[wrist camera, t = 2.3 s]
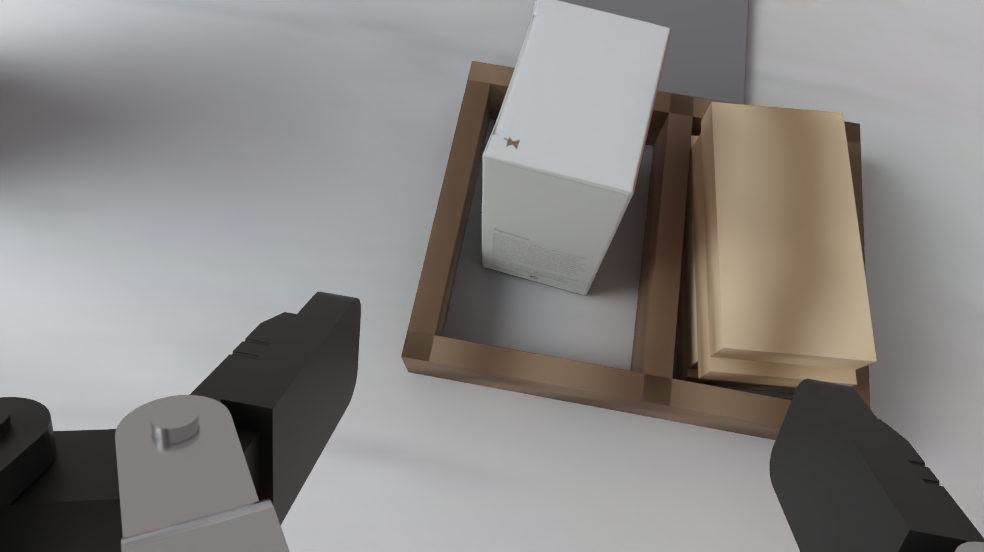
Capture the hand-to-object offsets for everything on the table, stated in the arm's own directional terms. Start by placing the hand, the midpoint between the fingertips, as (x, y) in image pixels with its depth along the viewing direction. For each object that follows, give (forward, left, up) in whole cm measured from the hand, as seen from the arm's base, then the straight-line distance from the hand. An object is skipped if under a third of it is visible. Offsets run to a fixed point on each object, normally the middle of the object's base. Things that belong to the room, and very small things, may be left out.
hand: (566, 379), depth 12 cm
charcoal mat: (+3, +26, -18) cm, 32 cm away
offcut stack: (+10, +11, -18) cm, 24 cm away
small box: (0, +13, -18) cm, 22 cm away
